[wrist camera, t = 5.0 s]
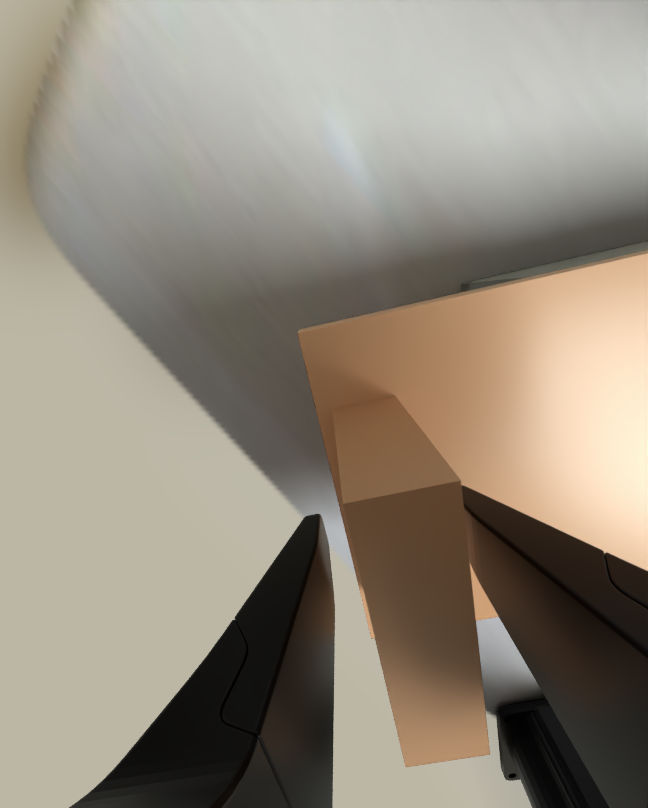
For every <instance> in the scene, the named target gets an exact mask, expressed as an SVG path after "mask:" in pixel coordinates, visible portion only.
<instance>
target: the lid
mask: <svg viewBox="0 0 648 808" xmlns="http://www.w3.org/2000/svg"><path fill="white" fill-rule="evenodd" d="M297 334H298V338H299V342H300V346H301V350H302V354H303V358H304V362H305V366H306V371H307V375H308V379H309V383H310V387H311V391H312V395H313V399H314V404H315V408H316V412H317V416H318V420H319V424H320V428H321V432H322V437H323V441H324V445H325V449H326V453H327V457H328V461H329V465H330V470H331V474H332V478H333V482H334V486H335V490H336V494H337V498H338V502H339V507H340V511H341V515H342V519H343V523H344V527H345V531H346V535H347V540H348V544H349V548H350V552H351V556H352V560H353V564H354V568H355V573H356V577H357V581H358V585H359V589H360V593H361V597H362V601H363V605H364V610H365V614H366V617H367V622H368V626H369V630H370V634H371V638H372V639H373V638H375V640H376V644H377V648H378V653H379V657H380V661H381V665H382V670H383V674H384V678H385V682H386V686H387V691H388V695H389V699H390V703H391V707H392V712H393V716H394V720H395V724H396V728H397V732H398V737H399V741H400V745H401V749H402V753H403V758H404V762H405V766H406V767H410V766H417V765H424V764H430V763H436V762H443V761H450V760H456V759H463V758H470V757H476V756H483V755H489V754H490V750H489V740H488V731H487V722H486V712H485V703H484V693H483V684H482V674H481V665H480V655H479V646H478V636H477V627H476V621H477V620H482V619H488V618H494V617H499V616H498V614H497V613H496V611H495V609H494V607H493V606H492V604H491V602H490V601H489V599H488V597H487V595H486V594H485V592H484V590H483V588H482V587H481V585H480V583H479V581H478V579H477V577H476V575H475V573H474V571H473V569H472V566H471V564H470V561H469V551H468V542H467V532H466V523H465V514H464V504H463V495H462V485H463V486H466V487H469V488H471V489H473V490H475V491H477V492H479V493H481V494H484V495H486V496H488V497H490V498H492V499H494V500H496V501H499V502H501V503H503V504H505V505H507V506H509V507H511V508H513V509H516V510H518V511H520V512H522V513H524V514H526V515H528V516H531V517H533V518H535V519H537V520H539V521H541V522H543V523H546V524H548V525H550V526H552V527H554V528H556V529H558V530H561V531H563V532H565V533H567V534H569V535H571V536H573V537H575V538H578V539H580V540H582V541H584V542H586V543H588V544H590V545H593V546H595V547H597V548H599V549H601V550H603V551H604V554H605V553H606V552H607V553H610V554H612V555H614V556H616V557H619V558H621V559H623V560H625V561H627V562H629V563H631V564H634V565H636V566H638V567H640V568H643V569H645V570H647V571H648V250H645V251H640V252H636V253H632V254H627V255H623V256H618V257H614V258H610V259H605V260H601V261H597V262H592V263H588V264H583V265H579V266H575V267H570V268H566V269H562V270H557V271H553V272H549V273H544V274H540V275H535V276H531V277H527V278H522V279H518V280H514V281H509V282H505V283H500V284H496V285H492V286H487V287H483V288H479V289H474V290H470V291H465V292H461V293H457V294H452V295H448V296H444V297H439V298H435V299H430V300H426V301H422V302H417V303H413V304H409V305H404V306H400V307H396V308H391V309H387V310H382V311H378V312H374V313H369V314H365V315H361V316H356V317H352V318H347V319H343V320H339V321H334V322H330V323H326V324H321V325H317V326H312V327H308V328H304V329H300V330H299V332H298V333H297Z"/></svg>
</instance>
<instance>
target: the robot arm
mask: <svg viewBox="0 0 648 808" xmlns="http://www.w3.org/2000/svg"><path fill="white" fill-rule="evenodd" d="M462 495H463V504H464V514H465V523H466V532H467V542H468V551H469V561H470V564H471V566H472V569H473V571H474V573H475V575H476V577H477V579H478V581H479V583H480V585H481V587H482V588H483V590H484V592H485V594H486V595H487V597H488V599H489V601H490V602H491V604H492V606H493V607H494V609H495V611H496V613H497V614H498V616H499V618H500V619H501V621H502V623H503V625H504V626H505V628H506V630H507V632H508V633H509V635H510V637H511V638H512V640H513V642H514V644H515V645H516V647H517V649H518V650H519V652H520V654H521V656H522V657H523V659H524V661H525V663H526V664H527V666H528V668H529V669H530V671H531V673H532V675H533V676H534V678H535V680H536V681H537V683H538V685H539V687H540V688H541V690H542V692H543V693H544V695H545V697H546V699H544V700H538V701H532V702H525V703H519V704H513V705H507V706H502V707H500V708H498V709H497V711H496V717H497V728H498V739H499V750H500V761H501V769H502V772H503V774H504V777H505V779H507V780H518V779H521V782H522V784H523V786H524V789H525V791H526V793H527V796H528V798H529V801H530V803H531V806H532V808H648V571H647V570H645V569H643V568H640V567H638V566H636V565H634V564H631V563H629V562H627V561H625V560H623V559H621V558H619V557H616V556H614V555H612V554H610V553H607V552H606V553H605V554H604V551H603V550H601V549H599V548H597V547H595V546H593V545H590V544H588V543H586V542H584V541H582V540H580V539H578V538H575V537H573V536H571V535H569V534H567V533H565V532H563V531H561V530H558V529H556V528H554V527H552V526H550V525H548V524H546V523H543V522H541V521H539V520H537V519H535V518H533V517H531V516H528V515H526V514H524V513H522V512H520V511H518V510H516V509H513V508H511V507H509V506H507V505H505V504H503V503H501V502H499V501H496V500H494V499H492V498H490V497H488V496H486V495H484V494H481V493H479V492H477V491H475V490H473V489H471V488H469V487H466V486H463V485H462ZM334 630H335V604H334V591H333V582H332V572H331V562H330V552H329V544H328V539H327V535H326V531H325V527H324V524H323V520H322V517H321V515H320V514H314V515H309V516H306V517H305V518H304V519H303V520H302V522H301V523H300V525H299V526H298V527H297V529H296V530H295V532H294V533H293V535H292V536H291V537H290V539H289V540H288V542H287V543H286V545H285V546H284V548H283V549H282V550H281V552H280V553H279V555H278V556H277V557H276V559H275V560H274V562H273V563H272V565H271V566H270V568H269V569H268V570H267V572H266V573H265V575H264V576H263V578H262V579H261V580H260V582H259V583H258V585H257V586H256V588H255V589H254V591H253V592H252V593H251V595H250V596H249V598H248V599H247V600H246V602H245V603H244V605H243V606H242V608H241V609H240V610H239V612H238V613H237V615H236V616H235V620H232V622H231V623H230V625H229V626H228V627H227V629H226V630H225V632H224V633H223V635H222V636H221V637H220V639H219V640H218V641H217V643H216V644H215V646H214V647H213V648H212V650H211V651H210V652H209V654H208V655H207V657H206V658H205V659H204V660H203V662H202V663H201V664H200V665H199V667H198V668H197V669H196V670H195V672H194V673H193V674H192V675H191V677H190V678H189V680H187V682H186V683H185V684H184V685H183V687H182V688H181V689H180V690H179V692H178V693H177V694H176V695H175V696H174V698H173V699H172V700H171V702H169V704H168V705H167V706H166V707H165V708H164V710H163V711H162V712H161V713H160V715H159V716H158V717H157V718H156V719H155V721H154V722H153V723H152V724H151V725H150V727H149V728H148V729H147V730H146V732H145V733H144V734H143V735H142V736H141V738H140V739H139V740H138V741H137V742H136V744H135V745H134V746H133V747H132V748H131V750H130V751H129V752H128V753H127V755H126V756H125V757H124V758H123V759H122V760H121V761H120V763H119V764H118V765H117V766H116V767H115V768H114V770H112V772H110V774H109V775H108V776H107V777H106V778H105V779H104V780H103V781H102V782H101V783H100V784H98V785H97V786H96V787H95V788H94V789H93V790H92V791H91V792H89V793H88V794H87V795H86V796H84V797H83V798H82V799H80V800H79V801H78V802H77V803H75V804H74V805H72V806H71V807H69V808H332V792H333V788H332V787H333V784H332V783H333V714H334V713H333V712H334V636H335V633H334Z"/></svg>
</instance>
